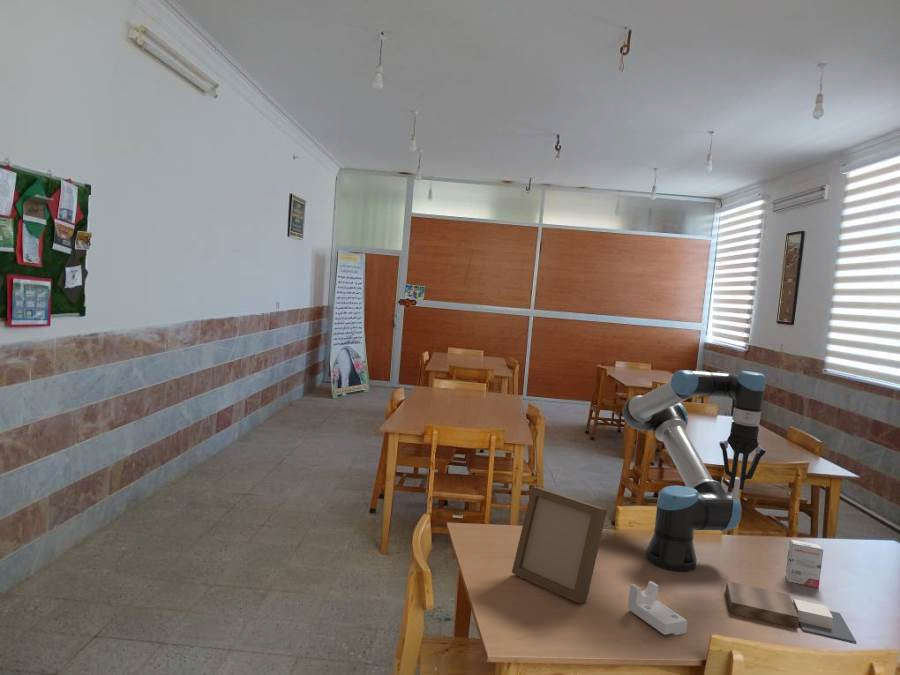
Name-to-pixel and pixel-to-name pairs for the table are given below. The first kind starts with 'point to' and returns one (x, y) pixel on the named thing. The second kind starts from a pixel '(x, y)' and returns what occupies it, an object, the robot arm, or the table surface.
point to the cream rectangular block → (813, 613)
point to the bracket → (655, 610)
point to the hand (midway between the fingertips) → (734, 498)
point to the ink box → (804, 563)
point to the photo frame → (559, 543)
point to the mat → (837, 631)
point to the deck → (761, 604)
